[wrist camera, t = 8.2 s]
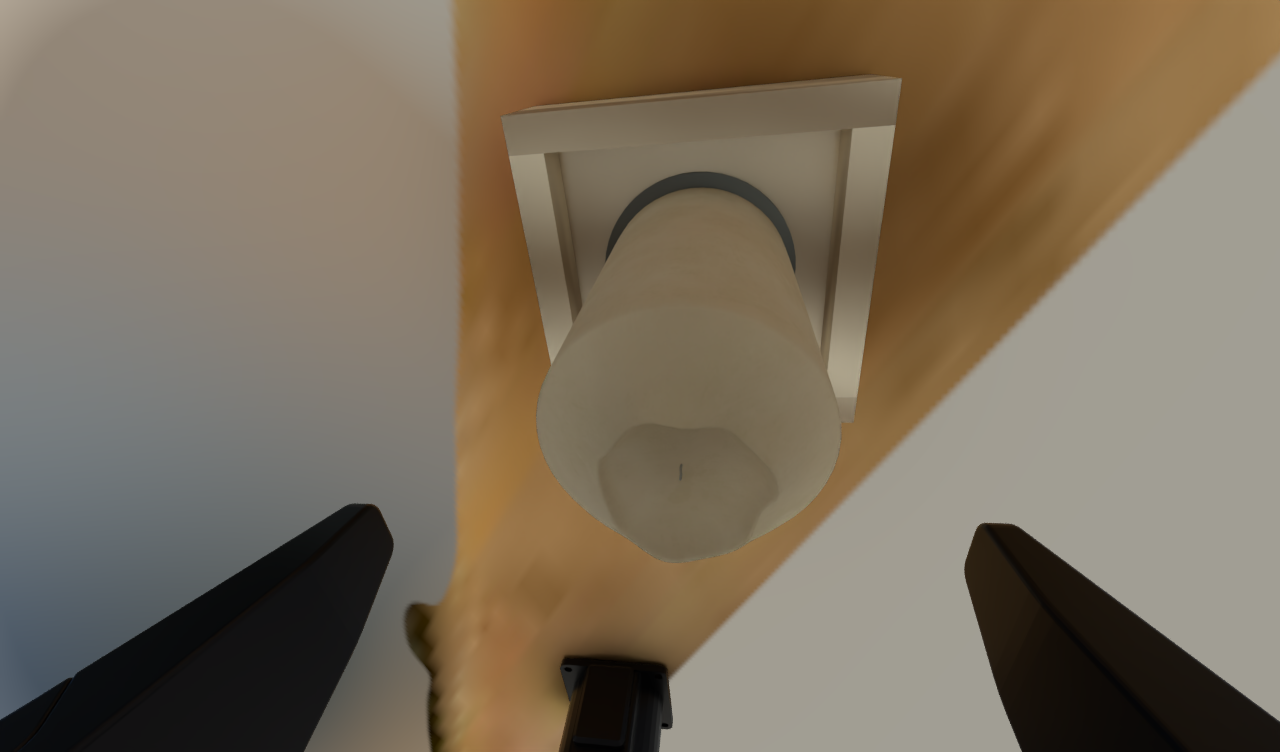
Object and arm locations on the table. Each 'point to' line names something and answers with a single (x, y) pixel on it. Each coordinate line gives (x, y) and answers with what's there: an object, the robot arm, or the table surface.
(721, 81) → the table surface
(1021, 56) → the table surface
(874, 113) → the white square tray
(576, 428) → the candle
